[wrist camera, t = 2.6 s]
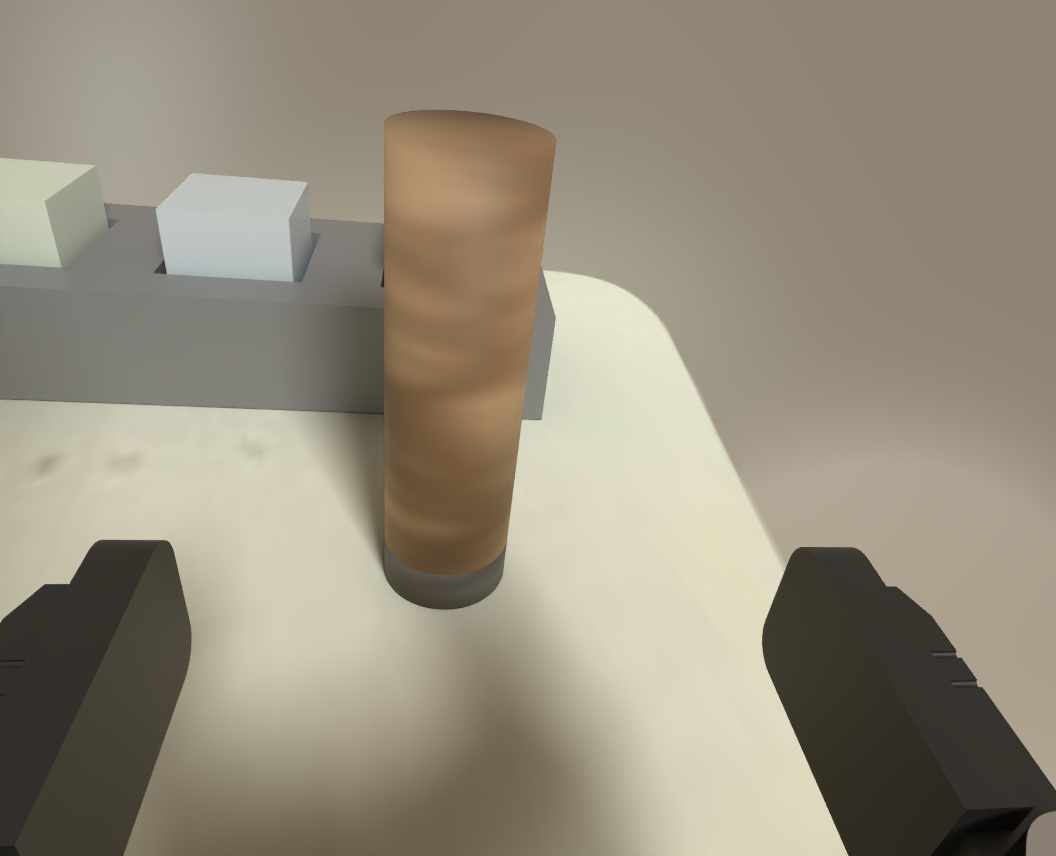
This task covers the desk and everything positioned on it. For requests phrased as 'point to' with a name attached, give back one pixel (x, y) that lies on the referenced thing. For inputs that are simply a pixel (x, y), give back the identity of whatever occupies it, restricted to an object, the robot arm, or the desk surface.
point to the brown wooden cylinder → (457, 341)
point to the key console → (212, 327)
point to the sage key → (48, 212)
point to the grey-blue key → (237, 228)
